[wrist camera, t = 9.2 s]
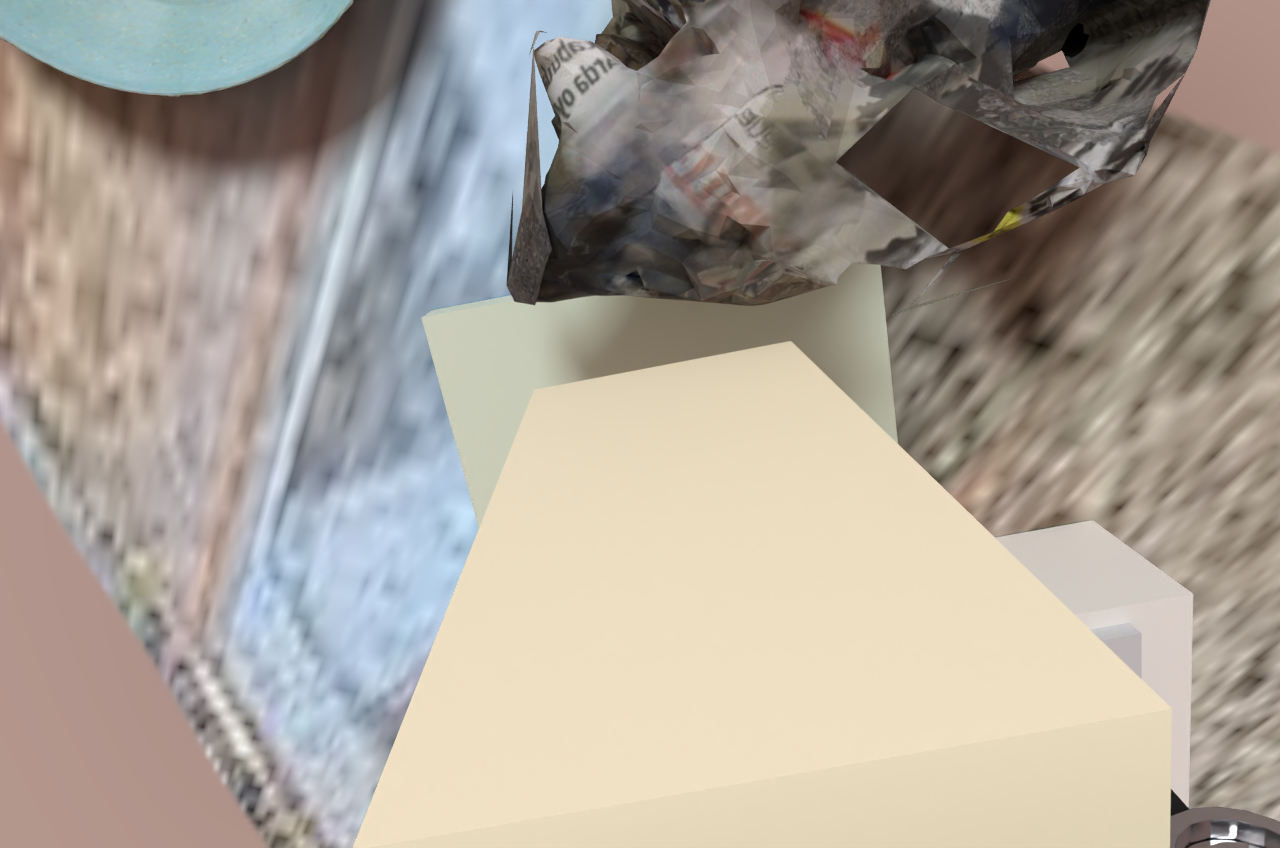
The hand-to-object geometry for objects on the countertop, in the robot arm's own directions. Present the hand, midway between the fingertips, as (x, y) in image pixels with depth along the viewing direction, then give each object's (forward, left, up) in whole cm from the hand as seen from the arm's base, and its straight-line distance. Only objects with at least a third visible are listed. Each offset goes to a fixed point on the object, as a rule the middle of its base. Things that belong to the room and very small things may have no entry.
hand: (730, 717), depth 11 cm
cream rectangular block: (0, 0, -6) cm, 6 cm away
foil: (-6, -9, -14) cm, 17 cm away
